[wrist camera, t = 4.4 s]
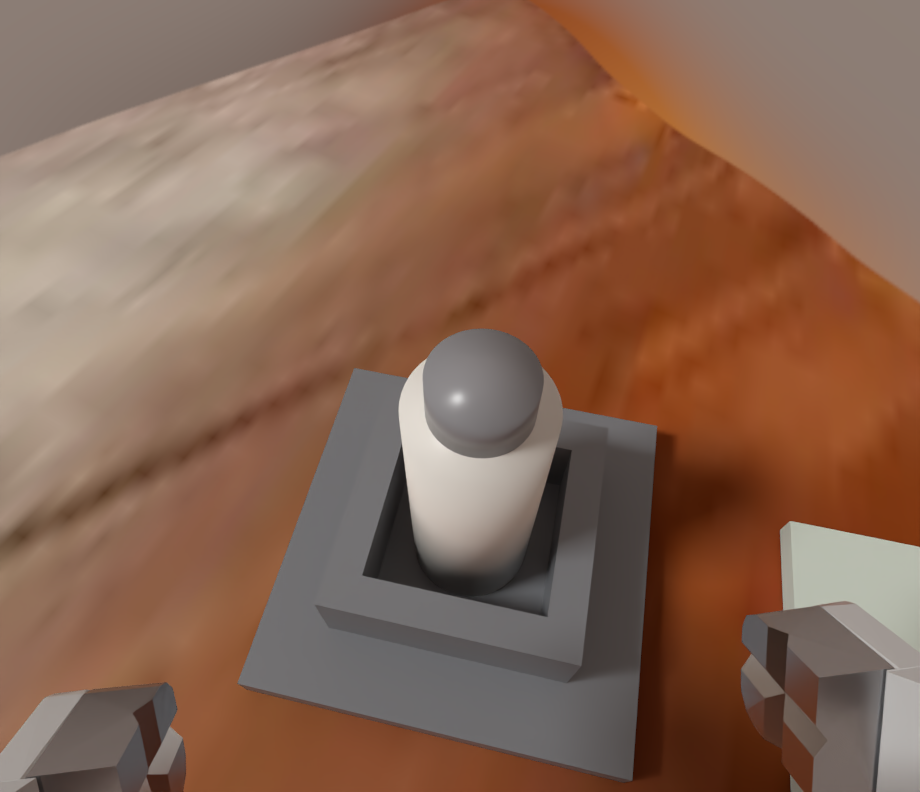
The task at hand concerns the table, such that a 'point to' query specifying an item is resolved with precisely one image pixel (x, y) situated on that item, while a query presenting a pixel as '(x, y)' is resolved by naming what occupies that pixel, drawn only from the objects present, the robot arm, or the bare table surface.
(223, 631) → the table surface
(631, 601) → the socket block
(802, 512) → the table surface
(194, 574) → the table surface
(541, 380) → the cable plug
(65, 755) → the robot arm
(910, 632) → the sage mat
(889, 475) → the table surface
